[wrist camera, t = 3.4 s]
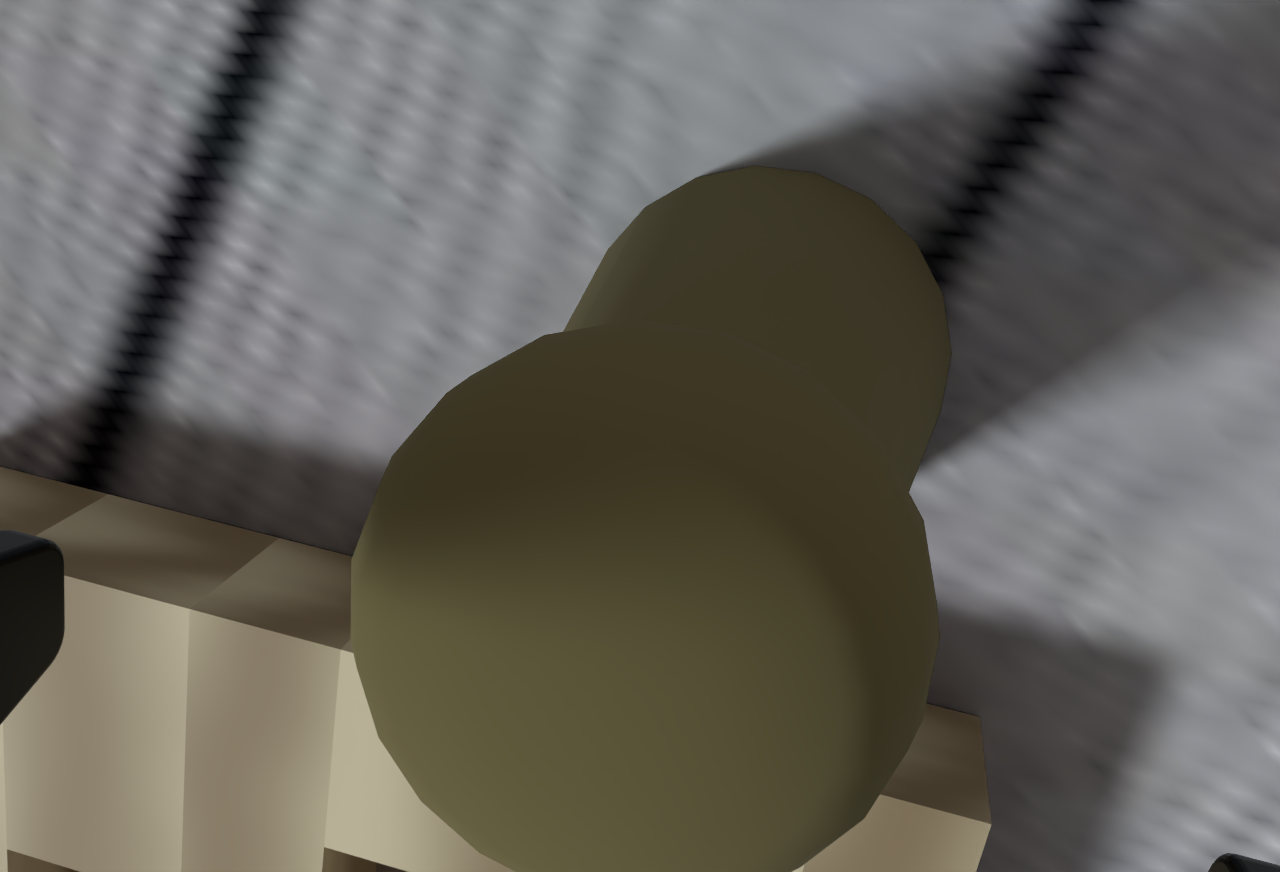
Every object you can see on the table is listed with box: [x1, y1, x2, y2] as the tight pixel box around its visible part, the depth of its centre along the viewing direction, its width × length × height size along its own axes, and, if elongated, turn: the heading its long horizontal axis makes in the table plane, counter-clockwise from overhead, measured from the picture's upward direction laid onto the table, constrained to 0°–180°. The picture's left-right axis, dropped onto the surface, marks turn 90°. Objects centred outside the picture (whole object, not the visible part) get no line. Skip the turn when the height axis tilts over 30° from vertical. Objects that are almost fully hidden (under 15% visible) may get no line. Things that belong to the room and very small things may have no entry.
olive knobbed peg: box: [350, 166, 952, 872], centre depth 14 cm, size 6×6×11 cm
